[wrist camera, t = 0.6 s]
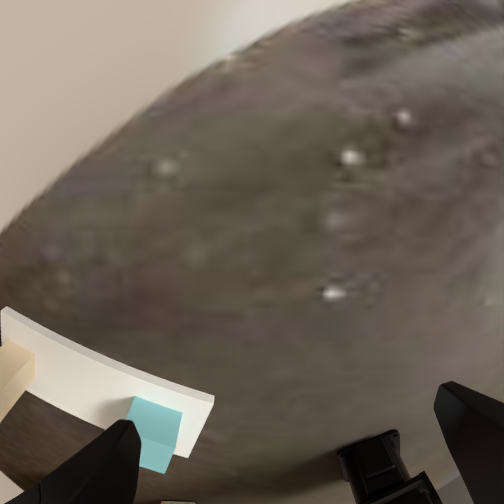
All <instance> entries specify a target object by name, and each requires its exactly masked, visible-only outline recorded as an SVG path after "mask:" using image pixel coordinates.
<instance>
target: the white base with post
mask: <svg viewBox="0 0 504 504" xmlns="http://www.w3.org/2000/svg"><path fill="white" fill-rule="evenodd" d="M1 341H2V346H1V347H0V422H1V421H2V420H3V418H4V417H5V416H6V414H7V413H8V412H9V410H10V409H11V408H12V407H13V405H14V404H15V403H16V401H17V400H18V399H19V398H20V396H21V395H22V394H23V392H24V391H25V390H27V391H28V392H30V393H32V394H34V395H35V396H37V397H39V398H41V399H43V400H44V401H46V402H48V403H50V404H52V405H54V406H56V407H58V408H60V409H62V410H64V411H66V412H68V413H70V414H72V415H74V416H76V417H78V418H80V419H82V420H85V421H87V422H89V423H91V424H94V425H96V426H98V427H101V428H103V429H105V430H106V429H107V428H108V427H110V426H111V425H112V424H113V423H115V422H116V421H117V420H119V419H126V418H127V415H128V413H129V410H130V408H131V405H132V403H133V400H134V398H135V396H137V397H139V398H142V399H145V400H147V401H150V402H153V403H156V404H159V405H161V406H164V407H167V408H170V409H173V410H176V411H179V412H183V413H182V418H181V423H180V427H179V432H178V437H177V442H176V447H175V450H174V453H173V454H176V455H179V456H183V457H186V458H188V457H189V455H190V452H191V450H192V448H193V446H194V444H195V442H196V440H197V438H198V436H199V434H200V432H201V430H202V428H203V425H204V423H205V421H206V419H207V417H208V415H209V413H210V411H211V409H212V406H213V404H214V395H210V394H207V393H204V392H201V391H197V390H194V389H191V388H188V387H185V386H182V385H179V384H176V383H173V382H170V381H168V380H165V379H162V378H159V377H156V376H154V375H151V374H148V373H146V372H143V371H140V370H138V369H135V368H133V367H130V366H128V365H125V364H123V363H120V362H118V361H116V360H113V359H111V358H108V357H106V356H104V355H102V354H99V353H97V352H95V351H93V350H90V349H88V348H86V347H84V346H82V345H80V344H77V343H75V342H73V341H71V340H69V339H67V338H65V337H63V336H61V335H59V334H57V333H55V332H53V331H51V330H49V329H47V328H45V327H43V326H41V325H40V324H38V323H36V322H34V321H32V320H30V319H29V318H27V317H25V316H23V315H21V314H20V313H18V312H16V311H14V310H13V309H11V308H9V307H8V306H6V307H5V308H4V309H2V310H1Z"/></svg>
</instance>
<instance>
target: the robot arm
mask: <svg viewBox="0 0 504 504" xmlns="http://www.w3.org/2000/svg"><path fill="white" fill-rule="evenodd" d="M434 411H435V414H436V417H437V419H438V422H439V425H440V427H441V430H442V433H443V436H444V438H445V441H446V444H447V446H448V449H449V451H450V453H451V455H452V457H453V459H454V461H455V463H456V465H457V468H458V470H459V472H460V474H461V476H462V478H463V480H464V482H465V485H466V487H467V489H468V491H469V493H470V496H471V498H472V500H473V502H474V504H504V403H503V402H500V401H498V400H496V399H493V398H491V397H488V396H486V395H484V394H481V393H479V392H477V391H474V390H472V389H470V388H467V387H465V386H463V385H460V384H458V383H456V382H453V381H449V382H446V383H443V384H441V385H440V386H439V388H438V392H437V395H436V399H435V402H434ZM141 447H142V442H141V438H140V436H139V433H138V431H137V429H136V426H135V424H134V422H133V421H132V420H126V419H119V420H117V421H116V422H115V423H113V424H112V425H111V426H110V427H108V428H107V429H106V430H105V431H103V432H102V433H101V434H100V435H98V436H97V437H96V438H95V439H93V440H92V441H91V442H89V443H88V444H87V445H86V446H84V447H83V448H82V449H80V450H79V451H78V452H77V453H75V454H74V455H73V456H71V457H70V458H69V459H68V460H66V461H65V462H64V463H62V464H61V465H60V466H58V467H57V468H56V469H54V470H53V471H52V472H50V473H49V474H48V475H46V476H45V477H44V478H42V479H41V480H40V482H39V481H38V482H37V483H36V484H34V485H33V486H31V487H30V488H29V489H27V490H26V491H24V492H23V493H21V494H20V495H18V496H17V497H15V498H13V499H12V500H10V501H8V502H6V503H5V504H133V502H134V498H135V494H136V489H137V482H138V473H139V463H140V455H141ZM337 456H338V459H339V463H340V466H341V470H342V473H343V477H344V480H345V482H350V485H351V489H352V492H353V495H354V498H355V502H356V504H442V502H441V500H440V498H439V496H438V494H437V492H436V490H435V489H434V487H433V485H432V483H431V482H430V480H429V478H428V476H427V475H426V473H425V471H423V472H421V473H419V475H417V476H415V477H413V478H411V477H410V475H409V473H408V471H407V469H406V467H405V465H404V463H403V461H402V459H401V457H400V435H399V432H398V430H393V431H390V432H388V433H386V434H383V435H381V436H378V437H376V438H373V439H370V440H368V441H365V442H362V443H360V444H357V445H354V446H351V447H348V448H345V449H342V450H340V451H338V452H337Z"/></svg>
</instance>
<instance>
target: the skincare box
mask: <svg viewBox="0 0 504 504" xmlns="http://www.w3.org/2000/svg"><path fill="white" fill-rule="evenodd" d="M161 504H195V502H178V501H161Z"/></svg>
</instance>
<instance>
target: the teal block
mask: <svg viewBox="0 0 504 504" xmlns="http://www.w3.org/2000/svg"><path fill="white" fill-rule="evenodd" d="M182 413H183V412H179V411H176V410H173V409H170V408H167V407H164V406H161V405H159V404H156V403H153V402H150V401H147V400H145V399H142V398H139V397H137V396H135V398H134V400H133V403H132V405H131V408H130V410H129V413H128V415H127V418H126V420H132V421H133V422H134V424H135V426H136V429H137V431H138V433H139V436H140V438H141V442H142V447H141V455H140V463H139V466H141V467H144V468H147V469H150V470H153V471H157V472H160V473H163V474H165V472H166V469H167V467H168V464H169V462H170V460H171V457H172V455H173V453H174V450H175V447H176V442H177V437H178V432H179V427H180V423H181V418H182Z"/></svg>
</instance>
